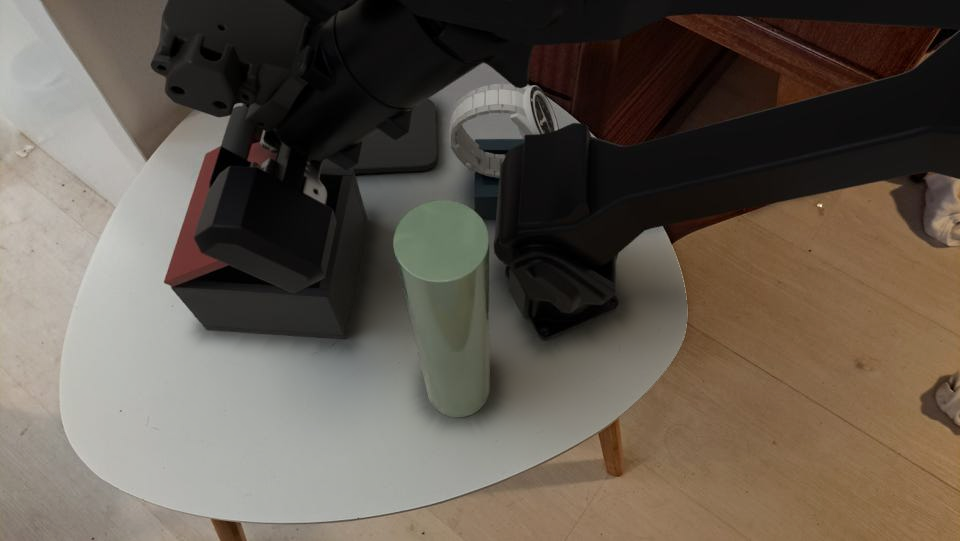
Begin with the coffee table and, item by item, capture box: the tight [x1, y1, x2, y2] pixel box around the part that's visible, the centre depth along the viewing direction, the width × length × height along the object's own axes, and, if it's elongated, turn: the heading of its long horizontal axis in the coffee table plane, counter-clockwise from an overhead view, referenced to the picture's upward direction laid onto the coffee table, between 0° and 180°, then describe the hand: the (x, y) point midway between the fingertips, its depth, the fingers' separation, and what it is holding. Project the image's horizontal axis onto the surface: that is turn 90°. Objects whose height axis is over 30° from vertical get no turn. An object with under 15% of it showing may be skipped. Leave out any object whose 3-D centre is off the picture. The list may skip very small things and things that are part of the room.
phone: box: [322, 98, 438, 175], centre depth 61 cm, size 7×1×15 cm
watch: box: [448, 83, 560, 220], centre depth 54 cm, size 6×8×11 cm
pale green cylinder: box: [392, 199, 491, 418], centre depth 42 cm, size 4×4×20 cm
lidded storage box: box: [170, 167, 368, 340], centre depth 52 cm, size 10×10×7 cm
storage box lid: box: [163, 105, 276, 287], centre depth 45 cm, size 11×10×4 cm
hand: (223, 173), depth 44 cm, fingers closed on storage box lid, 5 cm apart
